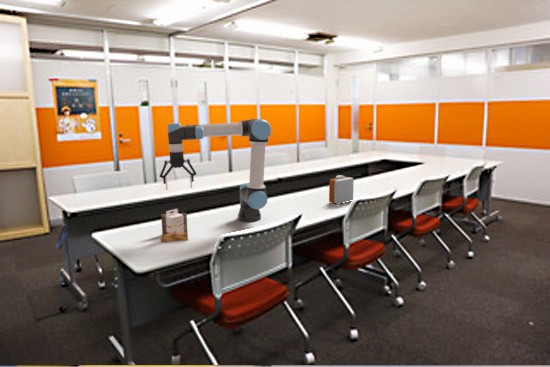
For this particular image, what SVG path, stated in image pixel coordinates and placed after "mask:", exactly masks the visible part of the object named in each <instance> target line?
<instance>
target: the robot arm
mask: <svg viewBox="0 0 550 367" xmlns="http://www.w3.org/2000/svg"><path fill="white" fill-rule="evenodd" d="M271 134H272V126H271V124H270V123H269V122H268V121H267V120H265V119H262V118H251V119H247V120H246V119H245V120H239V121H238V122H229V123H228V122H225V123H224V122H223V123H222V122H221V123H209V124H208V123H206V124H186V125H185V126H182V124H181V123H180V122H177V123H168V124H167V137H168V141H167V142H168V149H169V160H166V159H165V160H164V162H163V163H164V164H163V167H162V169H161V171H160V173H159V178H162V180H163V185H165V190H168V189H169V188H168V180H167V176H168V175H169V173H170V172H171V170H172V169H173V168H174V169H180V168H182V169H183V170H185V172H186V173H188V174H189V185H190V188H192V189H193V182H194V180H195V179H194V176H196V175H197V172H196V170H195V168H194V167H193V166H192V164H191V161H190V160H191V159H190V158H187V159H184V158H185V157H184V144H183V141H191V140H192V141H193V140H203V139H204V138H209V137H211V138H212V137H225V136H227V137H228V136H240V137H248V142H249V144H250V160H249V161H250V164H249V183H243V184H240V186H239V203H240V205H239V206H240V207H239V211H238V214H237V220H239V221H240V222H241V221H242V222H247V223H248V222H257V221H259V220H261V219H262V213H261V211H260V209H263V208H265V206H266V205H267V203H268V195H267V193H266V191H267V190H266V189H267V187H266V185H265V184H264V183H265V182H264V181H265V180H264V178H265V161H266V160H265V159H266V145H267V144H268V143H269V138H270V136H271ZM185 163H186V164H187V165H188V166H189V168H190V170H189V168H187V166H186V165H184V164H185ZM169 164H170V166H169V168H168V169H167V165H169ZM166 169H167V170H166ZM165 170H166V172H165ZM191 171H192V172H191ZM164 172H165V173H164Z"/></svg>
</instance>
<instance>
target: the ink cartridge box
mask: <svg viewBox="0 0 550 367" xmlns="http://www.w3.org/2000/svg"><path fill="white" fill-rule="evenodd" d="M178 213H179V208H174V209H170V210H166V212H165V214H166V229H167V234H176V233H184V222H183V215H182V214H178Z"/></svg>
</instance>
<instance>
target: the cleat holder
mask: <svg viewBox="0 0 550 367" xmlns="http://www.w3.org/2000/svg"><path fill="white" fill-rule="evenodd" d="M178 214H182V215H183V222H184V233H176V234H167V229H166V213H165V214H161V230H162V231H161V232H162V233H161V234H160V240H161V242H160V243H171V242H183V241H189V240H188V239H189V237H188V216H187V212H181V213H179V212H178Z"/></svg>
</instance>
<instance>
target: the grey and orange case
mask: <svg viewBox="0 0 550 367" xmlns="http://www.w3.org/2000/svg"><path fill="white" fill-rule="evenodd" d="M354 182H355V181H354V177H349V176H345V175H342V174H341V175H339V174H338V175H336V176H335V178H330V180H329V186H328V187H329V189H328V192H329V193H328V195H329V197H328V198H329V199H328V202H329V203H330V202H332V203H336V204H339V203H343V202H346V201H350V200H353V201H354ZM332 203H331V204H332ZM336 204H335V205H336ZM339 205H340V204H339Z"/></svg>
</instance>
